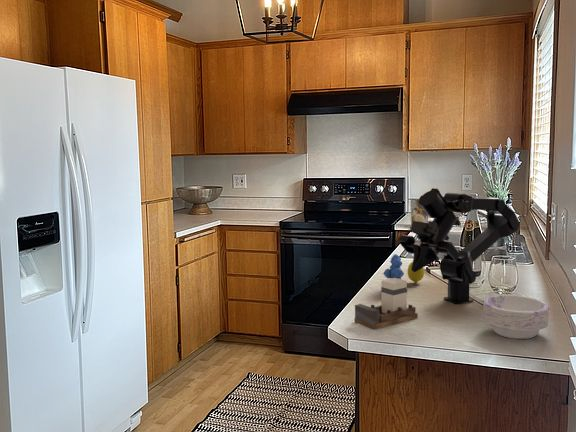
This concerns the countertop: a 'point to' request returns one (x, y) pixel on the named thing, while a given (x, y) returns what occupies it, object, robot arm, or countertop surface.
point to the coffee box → (418, 212)
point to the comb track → (382, 316)
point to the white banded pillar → (393, 294)
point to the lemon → (415, 274)
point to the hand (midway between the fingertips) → (413, 271)
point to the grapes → (394, 268)
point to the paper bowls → (515, 315)
